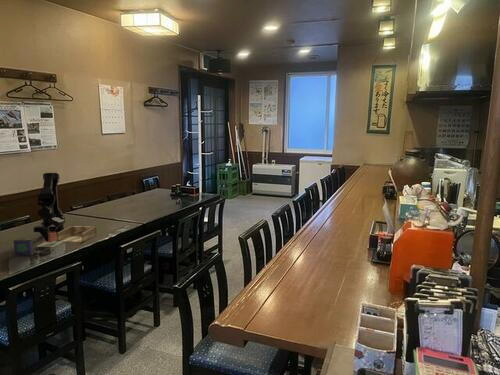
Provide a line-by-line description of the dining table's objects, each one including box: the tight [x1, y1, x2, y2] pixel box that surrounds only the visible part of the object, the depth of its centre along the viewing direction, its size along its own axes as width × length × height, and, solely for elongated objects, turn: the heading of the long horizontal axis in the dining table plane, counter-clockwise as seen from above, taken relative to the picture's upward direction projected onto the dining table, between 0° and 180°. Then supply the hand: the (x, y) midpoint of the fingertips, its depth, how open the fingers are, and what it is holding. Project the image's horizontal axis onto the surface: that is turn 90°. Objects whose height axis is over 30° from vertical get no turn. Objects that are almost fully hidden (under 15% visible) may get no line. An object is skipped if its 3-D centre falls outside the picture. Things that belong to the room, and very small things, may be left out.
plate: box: [36, 240, 65, 248], centre depth 206 cm, size 10×10×1 cm
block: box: [42, 231, 58, 243], centre depth 206 cm, size 5×5×5 cm
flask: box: [13, 235, 34, 257], centre depth 190 cm, size 9×3×11 cm, turn 95°
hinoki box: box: [56, 225, 97, 243], centre depth 218 cm, size 16×15×6 cm
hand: (50, 239), depth 206 cm, fingers closed on block, 5 cm apart
